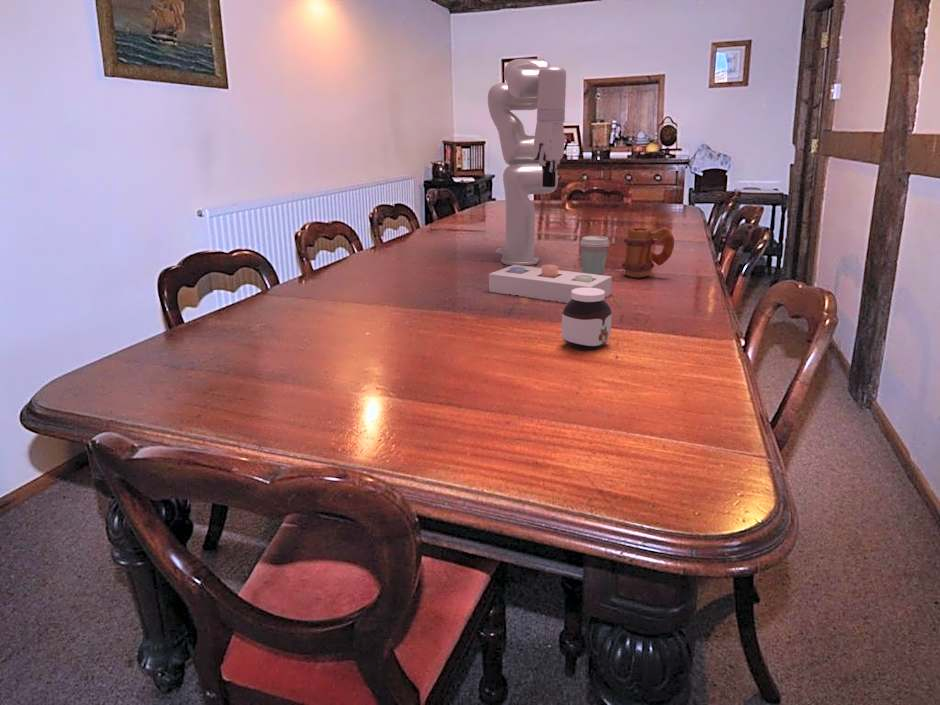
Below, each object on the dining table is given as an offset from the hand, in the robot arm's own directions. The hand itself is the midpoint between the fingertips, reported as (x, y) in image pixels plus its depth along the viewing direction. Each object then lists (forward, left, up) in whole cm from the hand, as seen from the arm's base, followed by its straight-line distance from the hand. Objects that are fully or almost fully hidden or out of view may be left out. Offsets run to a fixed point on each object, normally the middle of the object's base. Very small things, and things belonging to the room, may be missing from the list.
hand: (548, 186), depth 184 cm
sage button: (+17, -12, -26) cm, 34 cm away
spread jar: (+32, -46, -27) cm, 62 cm away
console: (+7, -12, -27) cm, 30 cm away
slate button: (-3, -12, -26) cm, 29 cm away
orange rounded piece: (+7, -12, -25) cm, 28 cm away
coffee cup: (+10, +11, -27) cm, 31 cm away
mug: (+23, +20, -27) cm, 41 cm away
